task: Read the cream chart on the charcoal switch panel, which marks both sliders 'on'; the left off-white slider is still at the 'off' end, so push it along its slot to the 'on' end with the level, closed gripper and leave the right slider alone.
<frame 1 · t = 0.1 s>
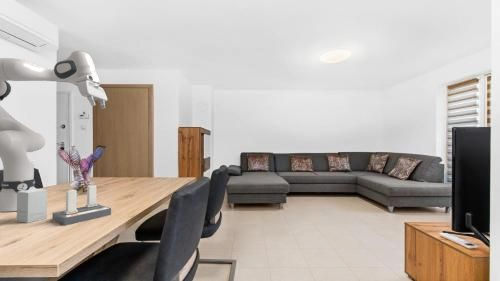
hand: (98, 107, 126), 52 cm above the table, tool tilted 20°, fingers open, 8 cm apart
switch b knob: (71, 201, 102), point 8 cm above the table, slide at 10.0 cm
switch panel: (82, 217, 107), on the table
switch a knob: (91, 196, 113), point 8 cm above the table, slide at 0.0 cm
supplement box: (31, 220, 103), on the table
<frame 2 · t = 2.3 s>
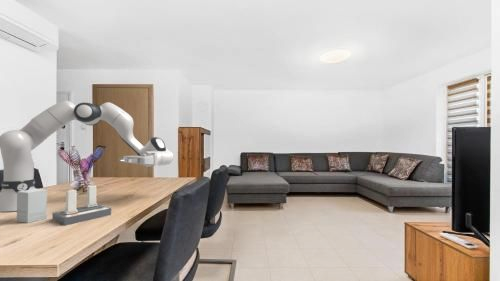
hand: (123, 160, 126), 24 cm above the table, tool horizontal, fingers open, 6 cm apart
nothing on the table moved.
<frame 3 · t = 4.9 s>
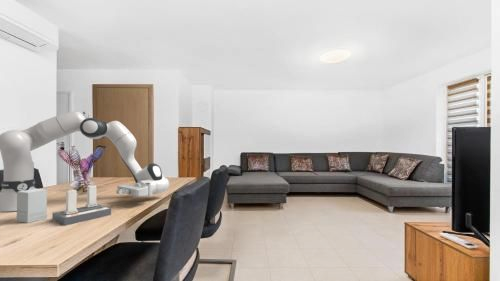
hand: (117, 192, 124), 8 cm above the table, tool horizontal, fingers closed
nothing on the table moved.
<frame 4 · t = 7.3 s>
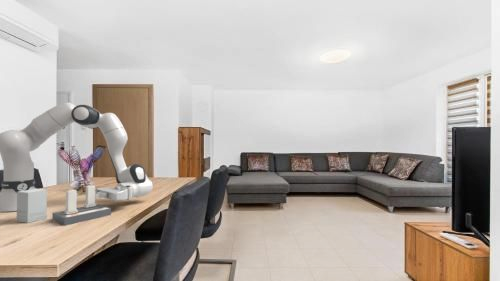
hand: (93, 196, 114), 8 cm above the table, tool horizontal, fingers closed, pressing on switch a knob
switch a knob: (90, 196, 113), point 8 cm above the table, slide at 0.6 cm, touching gripper
everything else where it was.
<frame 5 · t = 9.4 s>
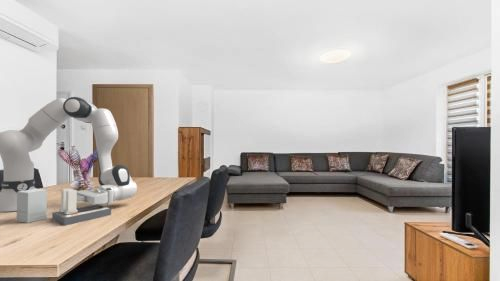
hand: (70, 199, 106), 8 cm above the table, tool horizontal, fingers closed, pressing on switch a knob
switch a knob: (66, 200, 105), point 8 cm above the table, slide at 10.0 cm, touching gripper
everything else where it was.
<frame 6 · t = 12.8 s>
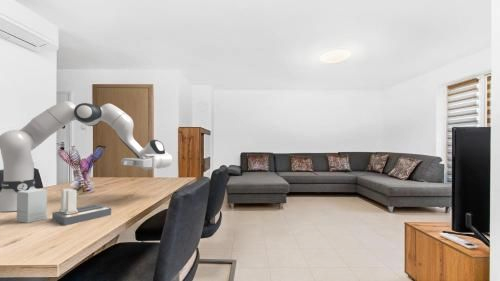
hand: (122, 163, 125), 23 cm above the table, tool horizontal, fingers closed
switch a knob: (66, 200, 105), point 8 cm above the table, slide at 10.0 cm
everything else where it was.
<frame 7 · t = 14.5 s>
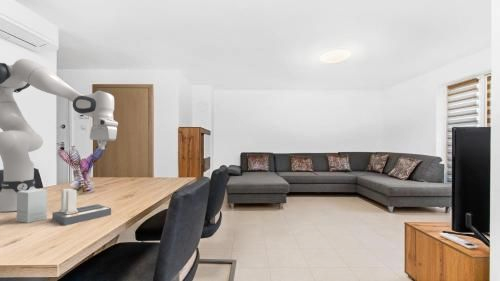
hand: (101, 149, 124), 30 cm above the table, tool pointing down, fingers closed
nothing on the table moved.
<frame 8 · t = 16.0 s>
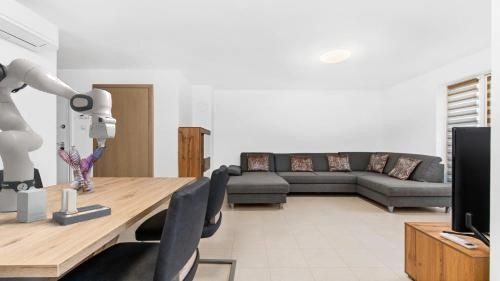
hand: (101, 147, 123), 31 cm above the table, tool pointing down, fingers closed
nothing on the table moved.
at the end: switch a knob slide at 10.0 cm; switch b knob slide at 10.0 cm; the gripper is holding nothing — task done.
